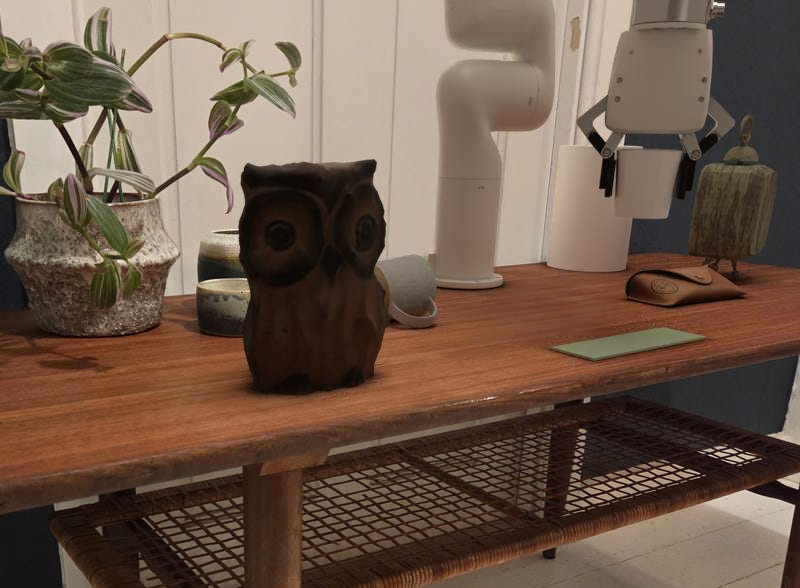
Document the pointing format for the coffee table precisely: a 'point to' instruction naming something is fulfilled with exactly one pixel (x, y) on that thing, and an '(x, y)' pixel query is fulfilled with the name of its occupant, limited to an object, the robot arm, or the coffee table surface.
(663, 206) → the white tapered cup
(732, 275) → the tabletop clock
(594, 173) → the canister
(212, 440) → the coffee table surface
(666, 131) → the robot arm
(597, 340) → the edge strip
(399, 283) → the ceramic mug
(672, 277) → the sunglasses case
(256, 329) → the owl
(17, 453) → the coffee table surface
